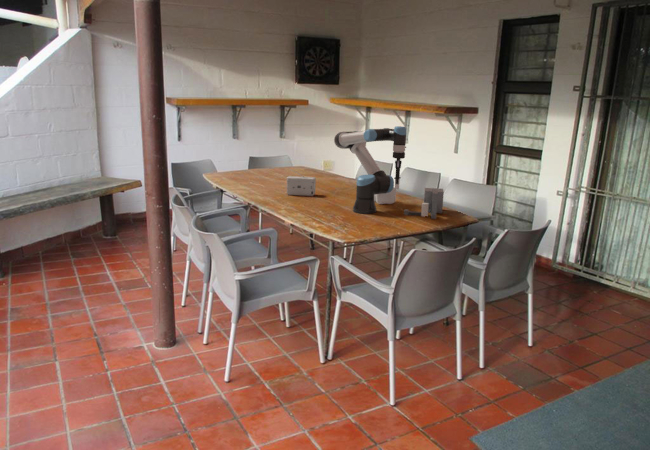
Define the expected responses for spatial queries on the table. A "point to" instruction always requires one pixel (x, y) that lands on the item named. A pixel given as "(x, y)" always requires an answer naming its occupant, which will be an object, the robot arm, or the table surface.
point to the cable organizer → (386, 197)
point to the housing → (434, 200)
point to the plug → (423, 212)
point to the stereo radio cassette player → (301, 185)
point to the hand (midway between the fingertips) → (396, 188)
